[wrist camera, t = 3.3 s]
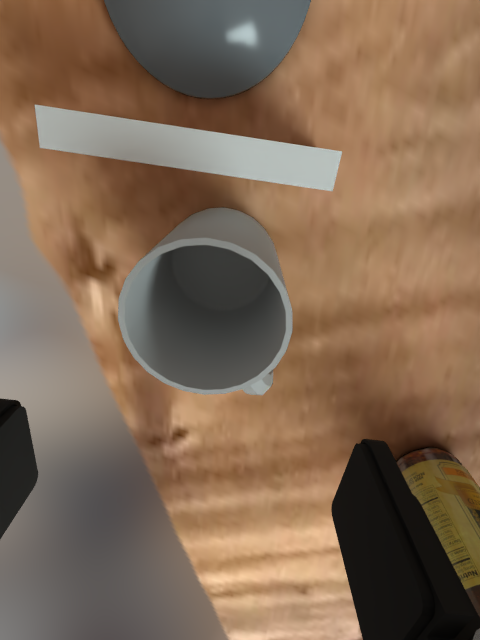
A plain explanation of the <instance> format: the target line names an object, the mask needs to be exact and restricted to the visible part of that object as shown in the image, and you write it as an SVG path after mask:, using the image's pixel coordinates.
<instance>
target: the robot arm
mask: <svg viewBox="0 0 480 640" xmlns="http://www.w3.org/2000/svg"><path fill="white" fill-rule="evenodd" d="M37 478H38V470H37V465H36V460H35V455H34V449H33V444H32V439H31V434H30V429H29V423H28V418H27V413H26V409H25V408H24V407H22V406H21V404H20V402H19V401H16V400H8V399H0V539H1V537H2V536H3V534H4V533H5V531H6V530H7V528H8V527H9V525H10V523H11V522H12V520H13V519H14V517H15V516H16V514H17V513H18V511H19V509H20V508H21V506H22V505H23V503H24V502H25V500H26V499H27V497H28V496H29V494H30V493H31V491H32V489H33V488H34V486H35V484H36V481H37ZM332 517H333V521H334V525H335V529H336V533H337V537H338V541H339V545H340V549H341V553H342V557H343V561H344V565H345V569H346V573H347V577H348V581H349V585H350V589H351V593H352V597H353V601H354V605H355V609H356V613H357V617H358V621H359V625H360V629H361V633H362V637H363V640H480V617H479V615H478V613H477V611H476V609H475V607H474V606H473V604H472V602H471V600H470V598H469V596H468V594H467V592H466V590H465V588H464V586H463V584H462V582H461V580H460V579H459V577H458V575H457V573H456V571H455V569H454V567H453V565H452V563H451V561H450V559H449V557H448V555H447V553H446V552H445V550H444V548H443V546H442V544H441V542H440V540H439V538H438V536H437V534H436V532H435V530H434V528H433V526H432V525H431V523H430V521H429V519H428V517H427V515H426V513H425V511H424V509H423V507H422V505H421V503H420V502H419V500H418V499H417V497H416V496H414V495H413V494H412V492H411V490H410V488H409V486H408V484H407V482H406V480H405V478H404V476H403V474H402V472H401V470H400V468H399V467H398V465H397V463H396V461H395V459H394V457H393V455H392V453H391V451H390V449H389V447H388V445H387V444H386V442H384V441H378V440H369V439H363V440H362V441H361V443H360V444H356V445H355V446H354V449H353V452H352V454H351V457H350V459H349V462H348V464H347V467H346V469H345V472H344V474H343V477H342V480H341V482H340V485H339V487H338V490H337V492H336V495H335V497H334V500H333V503H332Z"/></svg>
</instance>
